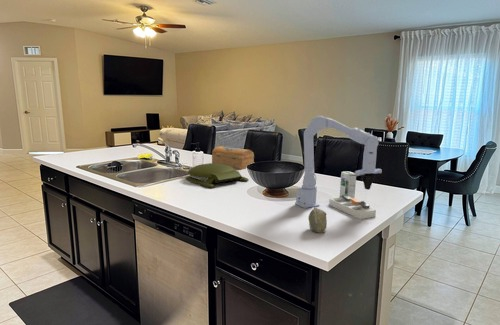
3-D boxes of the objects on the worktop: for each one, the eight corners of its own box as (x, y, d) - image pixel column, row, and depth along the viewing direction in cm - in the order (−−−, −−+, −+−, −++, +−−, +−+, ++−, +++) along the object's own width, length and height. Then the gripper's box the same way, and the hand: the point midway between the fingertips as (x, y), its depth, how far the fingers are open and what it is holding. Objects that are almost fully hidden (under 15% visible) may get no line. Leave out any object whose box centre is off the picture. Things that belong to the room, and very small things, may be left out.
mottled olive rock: (315, 239, 135) (312, 219, 131) (303, 229, 143) (300, 209, 138) (334, 229, 138) (332, 209, 134) (322, 219, 145) (319, 200, 141)
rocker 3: (347, 201, 167) (347, 198, 166) (341, 197, 170) (341, 194, 170) (351, 200, 168) (351, 198, 167) (345, 196, 171) (346, 194, 171)
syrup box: (338, 198, 183) (340, 171, 180) (348, 197, 185) (350, 170, 182) (345, 201, 177) (347, 173, 175) (354, 200, 179) (356, 173, 177)
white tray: (359, 219, 152) (360, 212, 151) (329, 204, 172) (329, 198, 171) (375, 216, 156) (376, 209, 155) (343, 202, 175) (343, 196, 175)
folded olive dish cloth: (250, 181, 217) (250, 166, 215) (209, 189, 198) (209, 173, 196) (218, 172, 243) (218, 158, 242) (179, 178, 224) (178, 163, 222)
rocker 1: (355, 204, 161) (356, 202, 161) (349, 200, 165) (350, 198, 165) (360, 203, 162) (360, 201, 162) (353, 200, 166) (354, 197, 166)
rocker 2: (364, 208, 156) (365, 206, 156) (358, 204, 160) (358, 201, 159) (369, 207, 157) (369, 205, 157) (362, 203, 161) (363, 201, 160)
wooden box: (255, 166, 262) (255, 148, 260) (240, 170, 250) (241, 151, 247) (226, 161, 281) (226, 144, 278) (211, 164, 268) (211, 147, 265)
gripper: (363, 163, 155) (361, 192, 157) (387, 161, 161) (385, 189, 163) (352, 160, 161) (350, 188, 164) (376, 158, 167) (374, 185, 170)
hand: (367, 189), depth 164 cm, fingers closed
